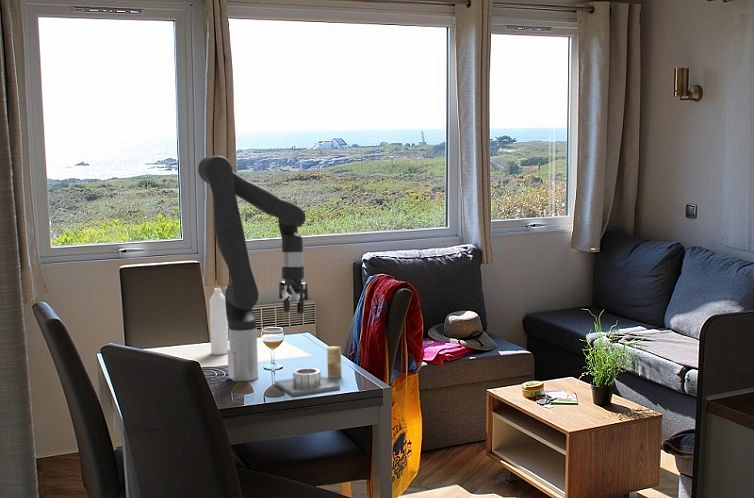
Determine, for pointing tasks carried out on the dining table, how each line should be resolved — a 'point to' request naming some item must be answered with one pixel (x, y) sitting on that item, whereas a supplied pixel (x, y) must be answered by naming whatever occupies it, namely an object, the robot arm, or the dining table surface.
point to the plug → (334, 362)
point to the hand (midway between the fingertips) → (293, 312)
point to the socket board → (306, 382)
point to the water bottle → (218, 323)
